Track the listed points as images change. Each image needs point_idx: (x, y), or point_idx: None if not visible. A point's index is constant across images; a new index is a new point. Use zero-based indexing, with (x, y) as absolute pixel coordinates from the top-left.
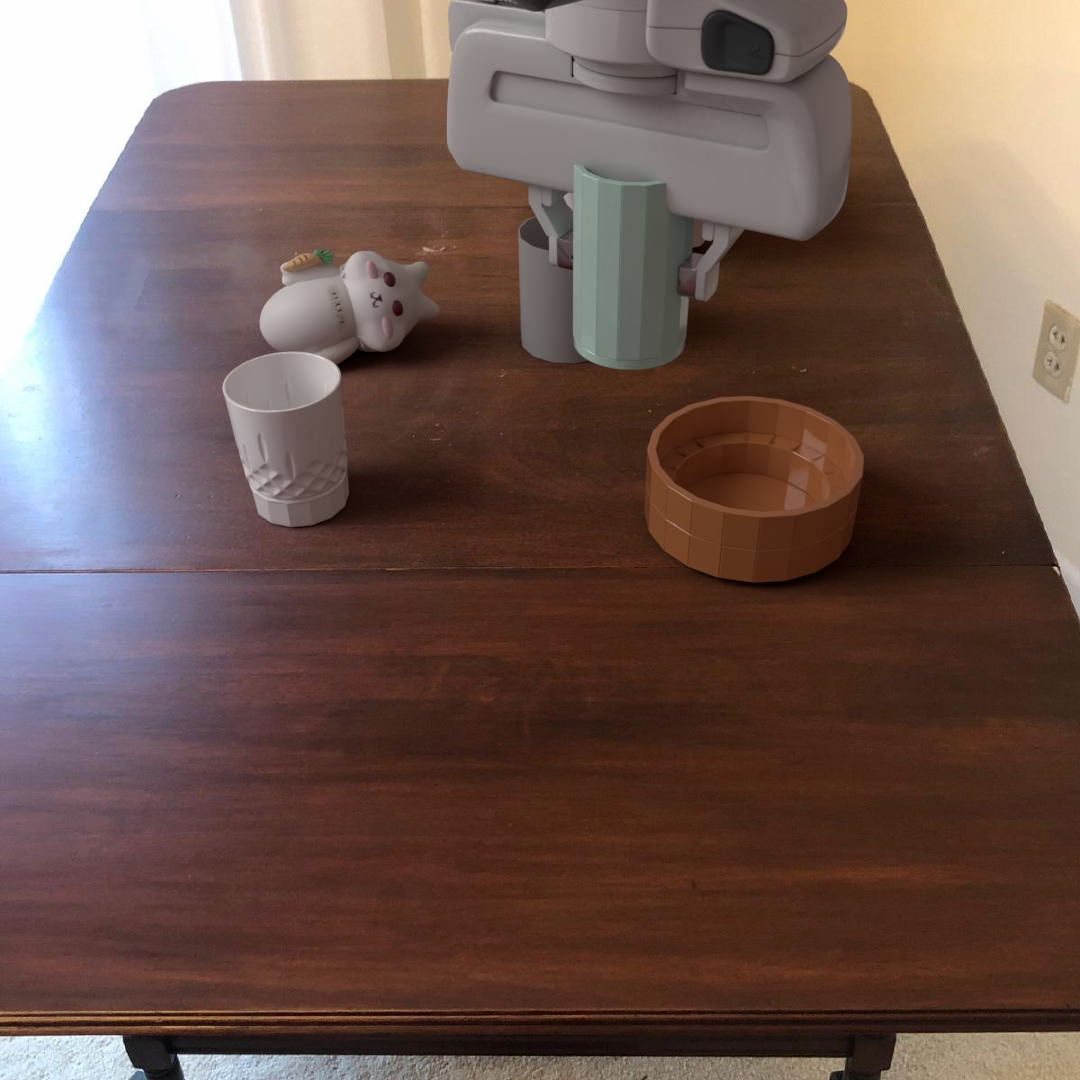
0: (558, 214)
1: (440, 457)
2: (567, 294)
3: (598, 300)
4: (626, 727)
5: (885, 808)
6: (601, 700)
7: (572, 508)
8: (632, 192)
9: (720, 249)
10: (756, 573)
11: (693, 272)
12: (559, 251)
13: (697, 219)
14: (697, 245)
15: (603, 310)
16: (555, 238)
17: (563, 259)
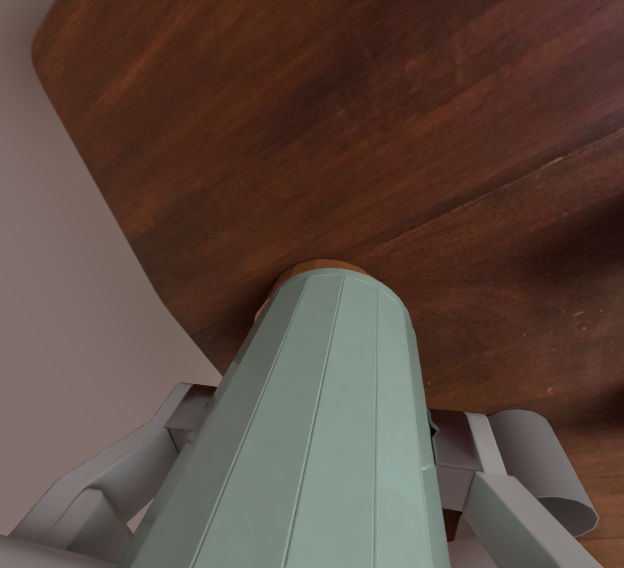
0: (506, 541)
1: (566, 296)
2: (524, 460)
3: (328, 333)
4: (305, 101)
5: (153, 130)
6: (332, 116)
7: (438, 284)
8: None
9: (80, 470)
10: (294, 267)
11: (172, 422)
12: (468, 441)
13: (465, 535)
14: (462, 515)
15: (320, 321)
16: (486, 470)
17: (454, 424)
